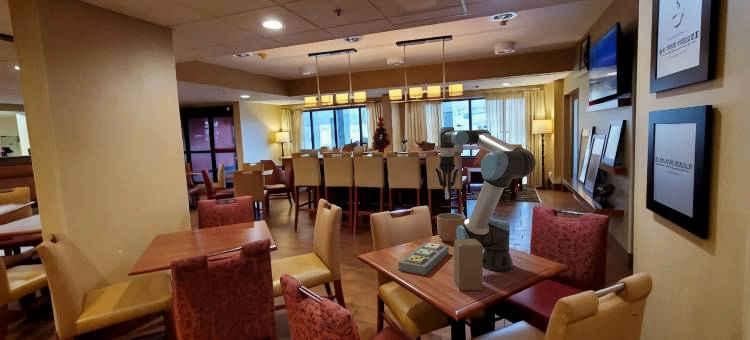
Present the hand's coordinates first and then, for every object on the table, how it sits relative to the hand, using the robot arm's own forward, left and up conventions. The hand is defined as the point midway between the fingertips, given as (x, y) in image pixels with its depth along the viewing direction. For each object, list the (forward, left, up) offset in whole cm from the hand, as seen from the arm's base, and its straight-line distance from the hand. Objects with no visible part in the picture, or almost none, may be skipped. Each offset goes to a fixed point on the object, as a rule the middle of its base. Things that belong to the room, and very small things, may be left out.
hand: (447, 198), depth 197 cm
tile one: (+6, +7, -29) cm, 31 cm away
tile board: (+6, +18, -30) cm, 36 cm away
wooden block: (-22, +38, -31) cm, 53 cm away
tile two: (+6, +18, -29) cm, 35 cm away
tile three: (+6, +29, -29) cm, 41 cm away
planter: (+5, -22, -31) cm, 38 cm away
